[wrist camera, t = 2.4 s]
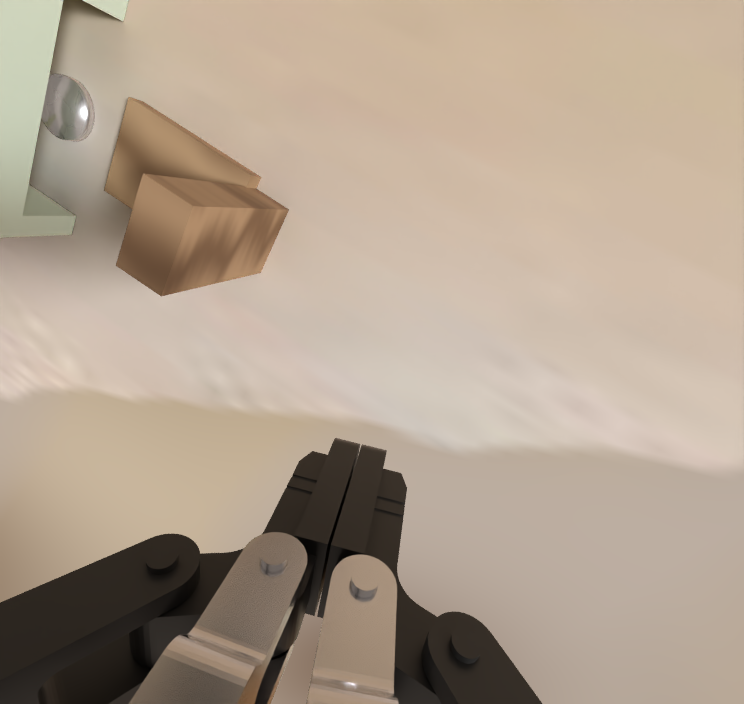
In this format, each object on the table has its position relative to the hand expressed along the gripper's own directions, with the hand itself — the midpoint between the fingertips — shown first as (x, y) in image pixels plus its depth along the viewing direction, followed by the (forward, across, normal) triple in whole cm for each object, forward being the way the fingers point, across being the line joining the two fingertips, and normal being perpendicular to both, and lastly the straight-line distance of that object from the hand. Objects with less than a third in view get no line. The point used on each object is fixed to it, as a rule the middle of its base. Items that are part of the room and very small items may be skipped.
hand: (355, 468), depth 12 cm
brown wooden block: (+26, +19, -2) cm, 33 cm away
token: (+29, +32, -7) cm, 44 cm away
